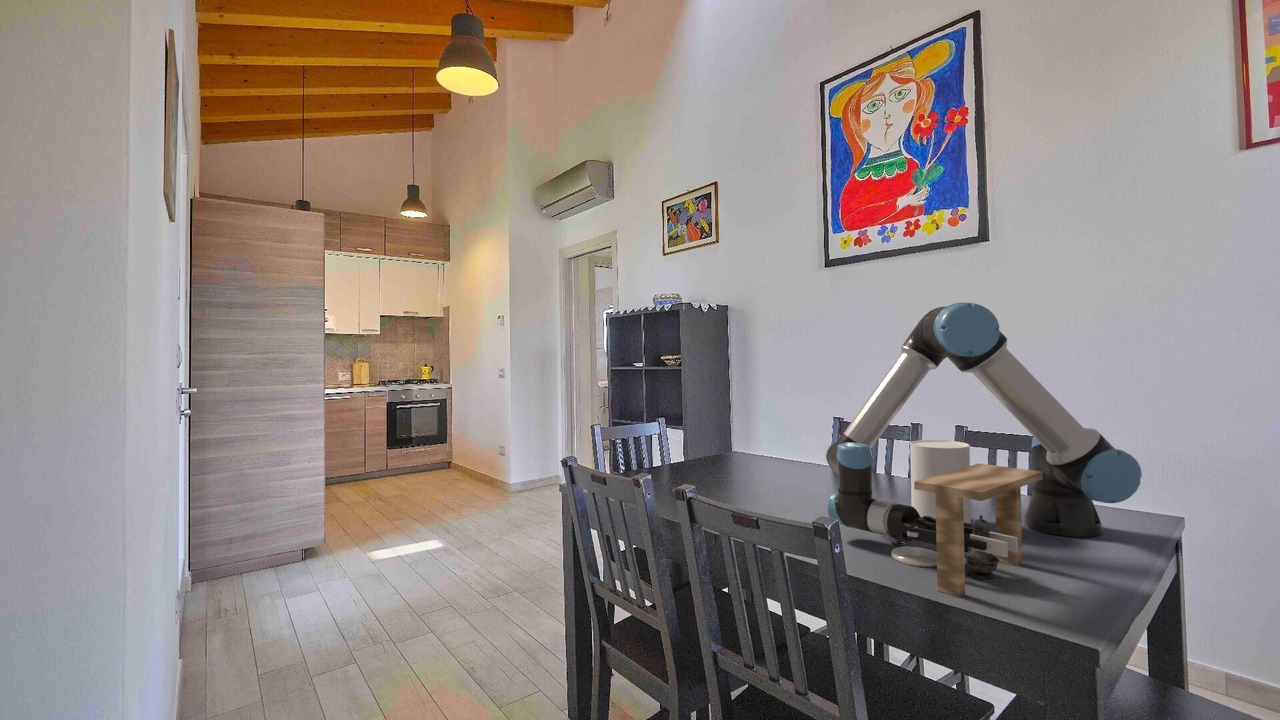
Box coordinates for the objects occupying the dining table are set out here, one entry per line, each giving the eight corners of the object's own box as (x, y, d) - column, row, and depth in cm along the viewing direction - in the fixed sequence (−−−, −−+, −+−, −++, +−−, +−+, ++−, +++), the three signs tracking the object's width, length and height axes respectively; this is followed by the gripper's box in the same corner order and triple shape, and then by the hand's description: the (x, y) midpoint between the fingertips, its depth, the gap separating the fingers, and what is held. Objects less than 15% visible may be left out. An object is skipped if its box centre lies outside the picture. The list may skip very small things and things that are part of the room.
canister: (917, 528, 146) (915, 447, 146) (907, 513, 159) (906, 439, 159) (977, 531, 142) (976, 448, 142) (963, 515, 155) (961, 440, 155)
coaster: (931, 550, 129) (931, 546, 129) (952, 566, 119) (952, 563, 119) (884, 550, 130) (884, 546, 130) (901, 566, 120) (901, 563, 120)
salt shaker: (958, 571, 117) (957, 511, 117) (986, 569, 117) (985, 510, 117) (977, 583, 111) (976, 519, 111) (1006, 581, 112) (1005, 518, 111)
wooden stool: (916, 583, 111) (914, 481, 111) (980, 553, 127) (978, 463, 127) (983, 604, 102) (981, 492, 102) (1044, 569, 117) (1042, 471, 117)
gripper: (915, 530, 134) (1031, 557, 115) (873, 545, 124) (992, 578, 105) (914, 497, 134) (1030, 519, 115) (872, 510, 124) (991, 536, 105)
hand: (1011, 547), depth 110 cm, fingers closed on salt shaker, 4 cm apart
